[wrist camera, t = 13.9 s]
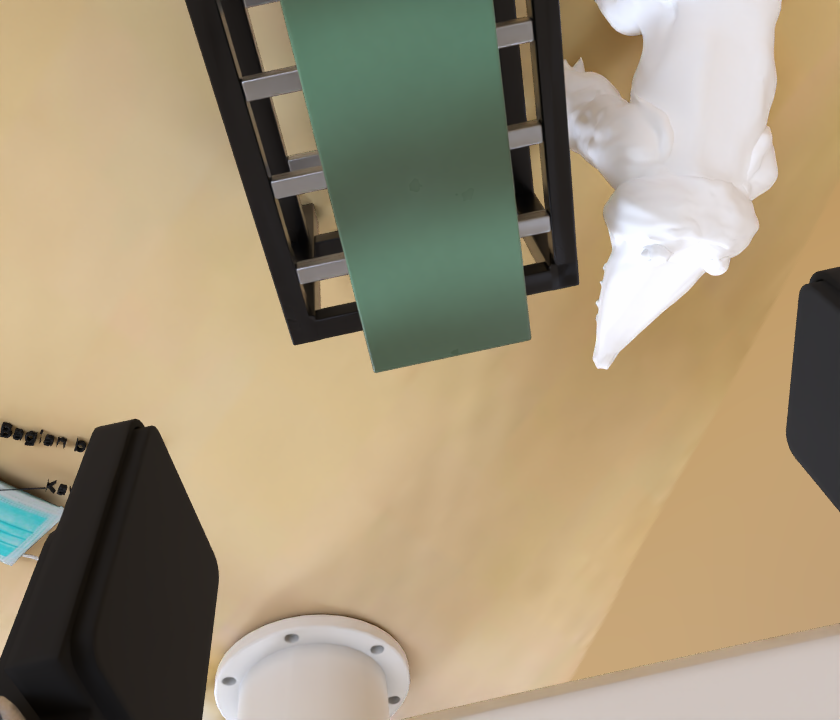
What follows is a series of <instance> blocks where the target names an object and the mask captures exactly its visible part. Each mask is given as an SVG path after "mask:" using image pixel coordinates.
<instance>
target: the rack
mask: <svg viewBox="0 0 840 720" xmlns="http://www.w3.org/2000/svg"><path fill="white" fill-rule="evenodd" d="M278 1H280V0H185V2H186V5H187V8H188V11H189V15H190V18H191V21H192V24H193V27H194V31H195V34H196V37H197V40H198V43H199V46H200V50H201V53H202V56H203V59H204V62H205V65H206V69H207V72H208V75H209V78H210V81H211V85H212V88H213V91H214V94H215V97H216V100H217V104H218V107H219V110H220V113H221V116H222V120H223V123H224V126H225V129H226V132H227V135H228V139H229V142H230V145H231V148H232V151H233V155H234V158H235V161H236V164H237V167H238V170H239V174H240V177H241V180H242V183H243V186H244V189H245V193H246V196H247V199H248V202H249V205H250V209H251V212H252V215H253V218H254V221H255V224H256V228H257V231H258V234H259V237H260V240H261V244H262V247H263V250H264V253H265V256H266V259H267V263H268V266H269V269H270V272H271V275H272V278H273V282H274V285H275V288H276V291H277V294H278V298H279V301H280V304H281V307H282V310H283V313H284V317H285V320H286V323H287V326H288V329H289V333H290V336H291V339H292V342H293V345H299V344H303V343H308V342H313V341H317V340H321V339H325V338H329V337H334V336H339V335H343V334H348V333H353V332H358V331H362V330H363V328H362V324H361V320H360V316H359V312H358V308H357V304H356V302H351V303H347V304H342V305H337V306H332V307H328V308H323V309H321V296H320V280H324V279H329V278H334V277H338V276H343V275H348V274H349V272H348V268H347V264H346V260H345V256H344V252H343V248H342V244H341V240H340V236H339V233H338V231H334V232H330V233H325V234H320V235H319V229H318V219H317V216H316V212H315V208H314V204H312V203H311V204H307V205H301V202H300V198H299V194H303V193H308V192H313V191H318V190H322V189H327V185H326V181H325V177H324V173H323V169H322V165H321V161H320V157H319V153H318V150H314V151H309V152H304V153H299V154H295V155H290V156H288V155H287V151H286V147H285V144H284V140H283V136H282V133H281V129H280V126H279V122H278V118H277V115H276V111H275V107H274V104H273V100H272V97H273V96H278V95H282V94H287V93H292V92H297V91H301V90H302V86H301V82H300V78H299V74H298V70H297V66H296V65H295V66H291V67H286V68H281V69H277V70H272V71H267V72H265V71H264V67H263V64H262V60H261V57H260V53H259V49H258V46H257V42H256V38H255V35H254V31H253V28H252V24H251V20H250V17H249V13H248V9H247V8H250V7H254V6H259V5H264V4H269V3H273V2H278ZM493 4H494V13H495V22H496V31H497V39H498V48H499V57H500V66H501V75H502V84H503V92H504V101H505V110H506V119H507V128H508V137H509V145H510V154H511V163H512V172H513V181H514V189H515V198H516V207H517V216H518V225H519V234H520V238H522V237H523V239H524V241H525V243H526V245H527V246H528V248H529V250H530V252H531V254H532V256H533V258H534V259H535V261H536V263H535V264H530V265H525V266H523V269H524V278H525V287H526V295H532V294H536V293H541V292H546V291H550V290H557V289H562V288H566V287H571V286H576V285H579V273H578V260H577V247H576V233H575V219H574V204H573V190H572V176H571V161H570V147H569V133H568V119H567V104H566V90H565V76H564V62H563V47H562V33H561V19H560V5H559V0H526V7H527V17H522V18H518V19H517V17H516V7H515V0H493ZM528 42H530V50H531V61H532V72H533V83H534V94H535V105H536V116H537V120H532V121H527V118H526V108H525V98H524V88H523V78H522V68H521V58H520V47H519V44H524V43H528ZM535 144H539V148H540V159H541V170H542V181H543V192H544V203H545V209H544V207H543V206H542V204H541V203H540V201H539V200H538V198H537V197H536V195H535V193H534V189H533V179H532V169H531V158H530V148H529V146H530V145H535Z"/></svg>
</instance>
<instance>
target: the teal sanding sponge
mask: <svg viewBox="0 0 840 720" xmlns="http://www.w3.org/2000/svg"><path fill="white" fill-rule="evenodd" d="M280 3H281V7H282V11H283V15H284V19H285V23H286V27H287V31H288V35H289V39H290V42H291V46H292V50H293V54H294V58H295V62H296V66H297V70H298V74H299V78H300V82H301V86H302V90H303V94H304V98H305V102H306V106H307V110H308V114H309V118H310V122H311V126H312V130H313V134H314V137H315V141H316V145H317V149H318V153H319V157H320V161H321V165H322V169H323V173H324V177H325V181H326V185H327V189H328V193H329V197H330V201H331V205H332V209H333V213H334V217H335V221H336V225H337V229H338V233H339V236H340V240H341V244H342V248H343V252H344V256H345V260H346V264H347V268H348V272H349V276H350V280H351V284H352V288H353V292H354V296H355V300H356V304H357V308H358V312H359V316H360V320H361V324H362V328H363V332H364V335H365V339H366V343H367V347H368V351H369V355H370V359H371V363H372V367H373V371H374V372H375V373H378V372H382V371H387V370H392V369H397V368H401V367H406V366H411V365H415V364H420V363H425V362H429V361H434V360H439V359H444V358H448V357H453V356H458V355H462V354H467V353H472V352H476V351H481V350H486V349H491V348H495V347H500V346H505V345H509V344H514V343H519V342H523V341H528V340H531V331H530V322H529V313H528V304H527V295H526V287H525V278H524V269H523V260H522V251H521V242H520V234H519V225H518V216H517V207H516V198H515V189H514V181H513V172H512V163H511V154H510V145H509V137H508V128H507V119H506V110H505V101H504V92H503V84H502V75H501V66H500V57H499V48H498V39H497V31H496V22H495V13H494V4H493V0H280Z"/></svg>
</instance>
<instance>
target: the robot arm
mask: <svg viewBox="0 0 840 720" xmlns="http://www.w3.org/2000/svg"><path fill="white" fill-rule="evenodd" d="M786 437H787V442H788V445H789V448H790V450H791V452H792V454H793V455H794V456H795V458H796V459H797V461H798V462H799V463H800V464H801V465H802V467H803V468H804V469H805V470H806V471H807V473H808V474H809V475H810V476H811V477H812V479H813V480H814V481H815V482H816V484H817V485H818V486H819V487H820V488H821V490H822V491H823V492H824V493H825V495H826V496H827V497H828V498H829V499H830V501H831V502H832V503H833V504H834V506H835V507H836V508H837V509H838V510H839V512H840V267H836V268H832V269H827V270H823V271H818V272H816V273H814V274H813V276H812V277H811V279H810V283H809V284H805V285H804V286H802V288H801V290H800V293H799V300H798V311H797V322H796V331H795V342H794V353H793V363H792V374H791V384H790V395H789V405H788V416H787V426H786ZM218 584H219V571H218V565H217V561H216V558H215V555H214V553H213V550H212V548H211V546H210V544H209V541H208V539H207V537H206V535H205V533H204V530H203V528H202V526H201V524H200V522H199V519H198V517H197V515H196V513H195V510H194V508H193V506H192V504H191V502H190V499H189V497H188V495H187V493H186V490H185V488H184V486H183V484H182V482H181V479H180V477H179V475H178V473H177V471H176V468H175V466H174V464H173V462H172V459H171V457H170V455H169V453H168V451H167V448H166V446H165V444H164V442H163V439H162V437H161V435H160V433H159V431H158V429H157V428H156V427H155V426H148V427H144V425H143V424H142V422H141V421H140V420H138V419H133V420H128V421H123V422H119V423H114V424H109V425H105V426H100V427H97V428H95V430H94V431H93V433H92V436H91V438H90V441H89V444H88V446H87V449H86V452H85V454H84V457H83V460H82V462H81V465H80V468H79V470H78V473H77V476H76V478H75V481H74V484H73V486H72V489H71V492H70V494H69V497H68V500H67V502H66V505H65V508H64V510H63V513H62V516H61V518H60V521H59V524H58V526H57V529H56V530H55V531H53V532H52V533H51V534H49V536H48V538H47V540H46V541H45V543H44V546H43V549H42V551H41V554H40V556H39V559H38V562H37V564H36V567H35V569H34V572H33V575H32V577H31V580H30V582H29V585H28V588H27V590H26V593H25V595H24V598H23V601H22V603H21V606H20V608H19V611H18V614H17V616H16V619H15V621H14V624H13V627H12V629H11V632H10V634H9V637H8V640H7V642H6V645H5V647H4V650H3V653H2V655H1V658H0V720H202V715H203V707H204V699H205V691H206V682H207V674H208V666H209V658H210V650H211V641H212V633H213V625H214V617H215V608H216V600H217V592H218ZM409 685H410V673H409V664H408V661H407V657H406V654H405V652H404V651H403V649H402V647H401V646H400V644H399V643H398V642H397V641H396V640H395V639H394V638H393V637H392V636H390V635H389V634H388V633H387V632H385V631H383V630H382V629H380V628H378V627H376V626H374V625H372V624H369V623H367V622H364V621H361V620H358V619H354V618H349V617H344V616H337V615H324V614H321V615H303V616H297V617H292V618H286V619H282V620H279V621H276V622H273V623H270V624H267V625H264V626H262V627H260V628H258V629H256V630H254V631H252V632H250V633H248V634H247V635H246V636H244V637H243V638H241V639H240V640H238V641H237V642H236V643H235V644H234V645H233V646H232V647H231V648H230V649H229V650H228V651H227V652H226V653H225V655H224V657H223V658H222V660H221V662H220V663H219V665H218V669H217V673H216V677H215V690H214V695H215V700H216V705H217V707H218V708H219V710H220V712H221V714H222V715H223V716H224V718H225V719H226V720H390V717H391V716H392V715H393V714H395V712H396V711H397V710H398V709H399V707H400V706H401V705H402V704H403V702H404V700H405V698H406V696H407V694H408V691H409ZM401 720H840V623H838V624H834V625H829V626H824V627H819V628H814V629H810V630H805V631H800V632H796V633H791V634H786V635H782V636H777V637H772V638H768V639H763V640H759V641H754V642H749V643H744V644H740V645H735V646H731V647H726V648H721V649H717V650H712V651H708V652H703V653H698V654H694V655H689V656H685V657H681V658H676V659H671V660H667V661H662V662H657V663H653V664H648V665H644V666H639V667H635V668H630V669H626V670H621V671H616V672H612V673H608V674H603V675H598V676H594V677H589V678H584V679H580V680H576V681H571V682H566V683H562V684H557V685H553V686H548V687H544V688H539V689H535V690H530V691H526V692H521V693H517V694H512V695H507V696H503V697H498V698H494V699H490V700H485V701H481V702H476V703H472V704H467V705H463V706H458V707H454V708H450V709H445V710H441V711H436V712H432V713H427V714H423V715H419V716H414V717H410V718H405V719H401Z"/></svg>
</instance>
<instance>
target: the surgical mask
mask: <svg viewBox="0 0 840 720" xmlns="http://www.w3.org/2000/svg"><path fill="white" fill-rule="evenodd" d="M5 427H6V428H5ZM11 428H12V425H11V424H10V423H5V422H3V424H2V427H1V433H0V437H4V438H8V437H10V436H11V435H12V431H11ZM4 432H5V433H4ZM23 433H24V432H23V430H22V429H16V430H15V433H14V435H13V439H15V440H19V439H20V440H21V439H22V437H23ZM42 433H43V429H42V430H41V432H40V434H41V435H42ZM29 436H33V438H30V437H29ZM36 438H37V432H36V433H35V432H33V431H29V432H27V433H26V435H25V441H26V442H25V445H29V446H34V443H35V441H36ZM53 441H54V436H52V435H48V434H47V436H46V437H45V440H44V442H43V443H44V445H46V446H49V445H50V446H51V445H52V444H53ZM60 441H61V442H63V449H64V447H65V445H66V441H67V439H66V438H64V437H62V438H59V437H58V441H57V445H58V442H60ZM40 442H41V438H40ZM40 442H39V443H40ZM57 445H56V447H57ZM78 445H82V446H83V448H79V447H78ZM85 447H86V443H85V442H84V441H79V442H78V438H77V442H76V446H75V449H74V451H78V452H83V451H84V450H85ZM56 481H57V480H55V481H53V482H51V483H49V479H48V483H47V487H46V488H45V487H44V488H24V489H17V488H16V487H14V486H11V485H9V484H7V483H5V482H3V481H1V480H0V561H1V562H3V563H5V564H8V565H11V566H12V565H13V564H14V563H15V562H16V561H17V560H18V559H19V558H20V557H21V556H24V557H28V558H32V559H35V560H37V561H38V559H39V557H36V556H33V555H29V554H24V553H25V552H26V551H27V550H28V549H29V548H30V547H31V546H33V545H34V544H35V543H36V542H37V541H38V540H39V539H40V538H41V537H42V536H43V535H45V534H46V533H47V532H48V531H49V530H50V529H51V528H52V527H53V526H54V525H55V524H57V523H58V522H59V521H60V518H61V516H62V513H63V510H64V507H62V506H56V505H54V504H51V503H50V502H48V501H46V500H43V499H40V498H38V497H36V496H34V495H32V494H29V493H27V492H25V491H23V490H29V489H46V490H47V488H49V489H50V490H51V491H52V493H53V494H54V493H55V491H56V490H55V489H54V488H53V485H54V484H56ZM66 490H67V485H63V484H60V486H59V488H58V492H57V494H59V495H65V493H66ZM70 492H71V486H70Z"/></svg>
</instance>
